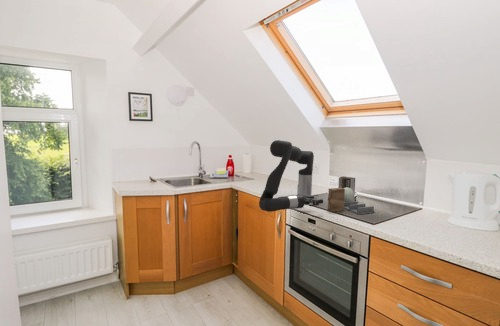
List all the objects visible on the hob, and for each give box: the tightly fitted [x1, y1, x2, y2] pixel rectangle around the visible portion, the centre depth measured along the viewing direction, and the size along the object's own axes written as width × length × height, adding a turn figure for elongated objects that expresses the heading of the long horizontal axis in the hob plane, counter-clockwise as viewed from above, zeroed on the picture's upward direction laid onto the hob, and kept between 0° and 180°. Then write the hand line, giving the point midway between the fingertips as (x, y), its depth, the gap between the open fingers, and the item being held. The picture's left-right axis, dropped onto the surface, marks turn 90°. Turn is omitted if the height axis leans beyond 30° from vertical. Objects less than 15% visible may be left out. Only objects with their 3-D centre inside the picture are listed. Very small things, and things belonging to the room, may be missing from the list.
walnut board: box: [327, 187, 345, 213], centre depth 168 cm, size 4×9×13 cm, turn 113°
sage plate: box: [344, 187, 355, 202], centre depth 177 cm, size 1×11×11 cm, turn 113°
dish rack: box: [344, 200, 375, 215], centre depth 172 cm, size 21×12×4 cm, turn 23°
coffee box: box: [337, 176, 356, 202], centre depth 191 cm, size 9×6×16 cm
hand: (318, 199), depth 163 cm, fingers open, 8 cm apart
